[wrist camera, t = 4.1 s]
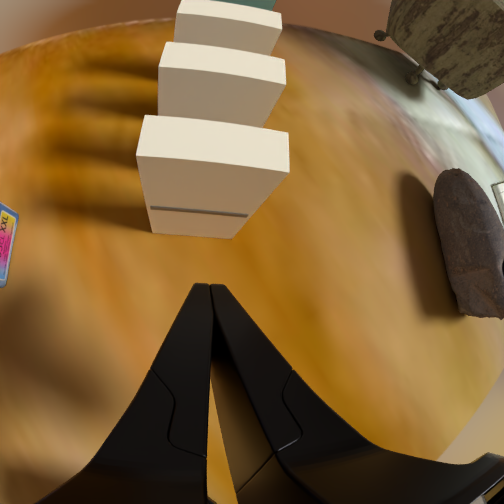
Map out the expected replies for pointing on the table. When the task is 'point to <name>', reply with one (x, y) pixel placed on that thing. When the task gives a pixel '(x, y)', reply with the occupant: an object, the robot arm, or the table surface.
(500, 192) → the hard drive
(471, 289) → the perforated stone tool
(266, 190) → the domino
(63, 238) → the table surface
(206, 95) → the domino
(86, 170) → the table surface
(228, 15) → the domino
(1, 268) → the ink cartridge box
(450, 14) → the tabletop clock
